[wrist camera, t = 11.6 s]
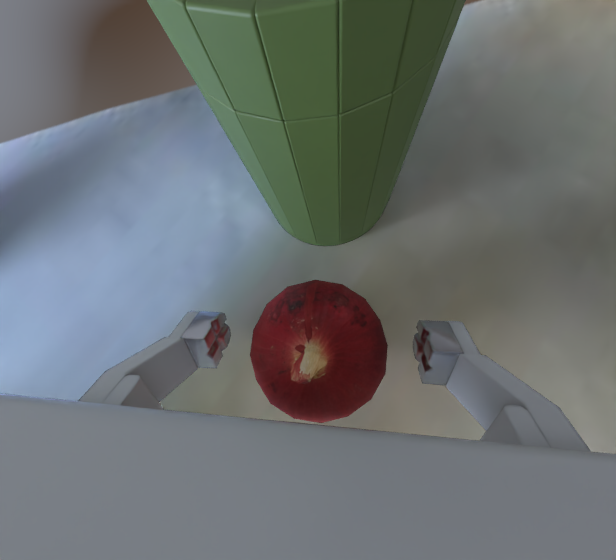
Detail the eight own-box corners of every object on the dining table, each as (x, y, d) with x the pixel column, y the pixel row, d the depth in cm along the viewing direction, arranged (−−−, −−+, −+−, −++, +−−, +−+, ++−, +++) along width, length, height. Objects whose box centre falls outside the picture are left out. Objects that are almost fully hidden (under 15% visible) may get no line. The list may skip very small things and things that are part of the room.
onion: (265, 306, 15) (193, 283, 8) (356, 282, 15) (378, 232, 7) (286, 404, 14) (226, 499, 6) (385, 381, 14) (451, 450, 6)
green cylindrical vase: (346, 117, 17) (359, -330, 5) (414, 204, 15) (647, -179, 4) (250, 175, 17) (62, -141, 6) (306, 269, 16) (205, 94, 4)
